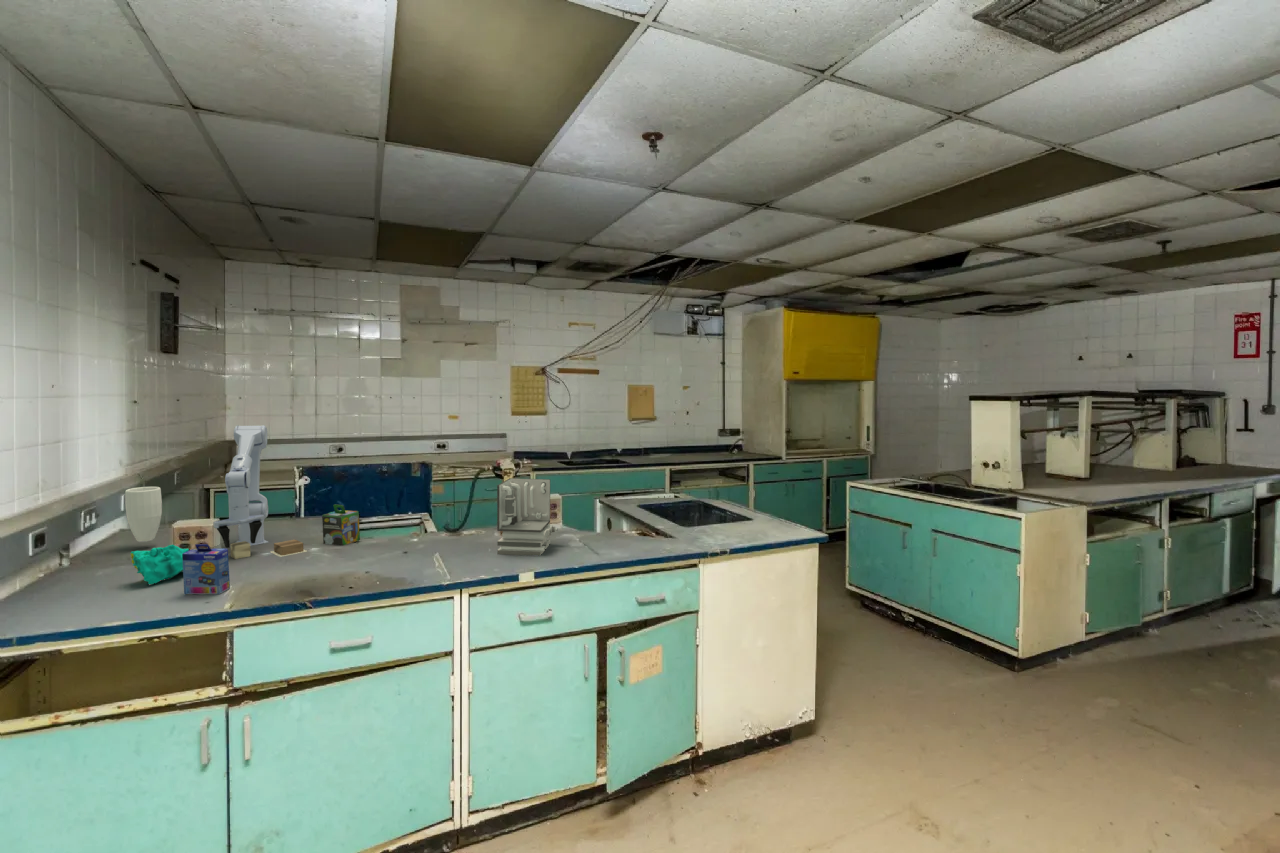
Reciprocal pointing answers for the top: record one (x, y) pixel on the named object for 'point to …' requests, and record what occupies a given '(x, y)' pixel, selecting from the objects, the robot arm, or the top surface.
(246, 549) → the maple cube
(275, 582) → the top surface
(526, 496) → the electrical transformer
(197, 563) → the ink cartridge box
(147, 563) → the teal lumpy piece
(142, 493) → the cup
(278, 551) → the brown square wooden block
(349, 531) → the chalk box
